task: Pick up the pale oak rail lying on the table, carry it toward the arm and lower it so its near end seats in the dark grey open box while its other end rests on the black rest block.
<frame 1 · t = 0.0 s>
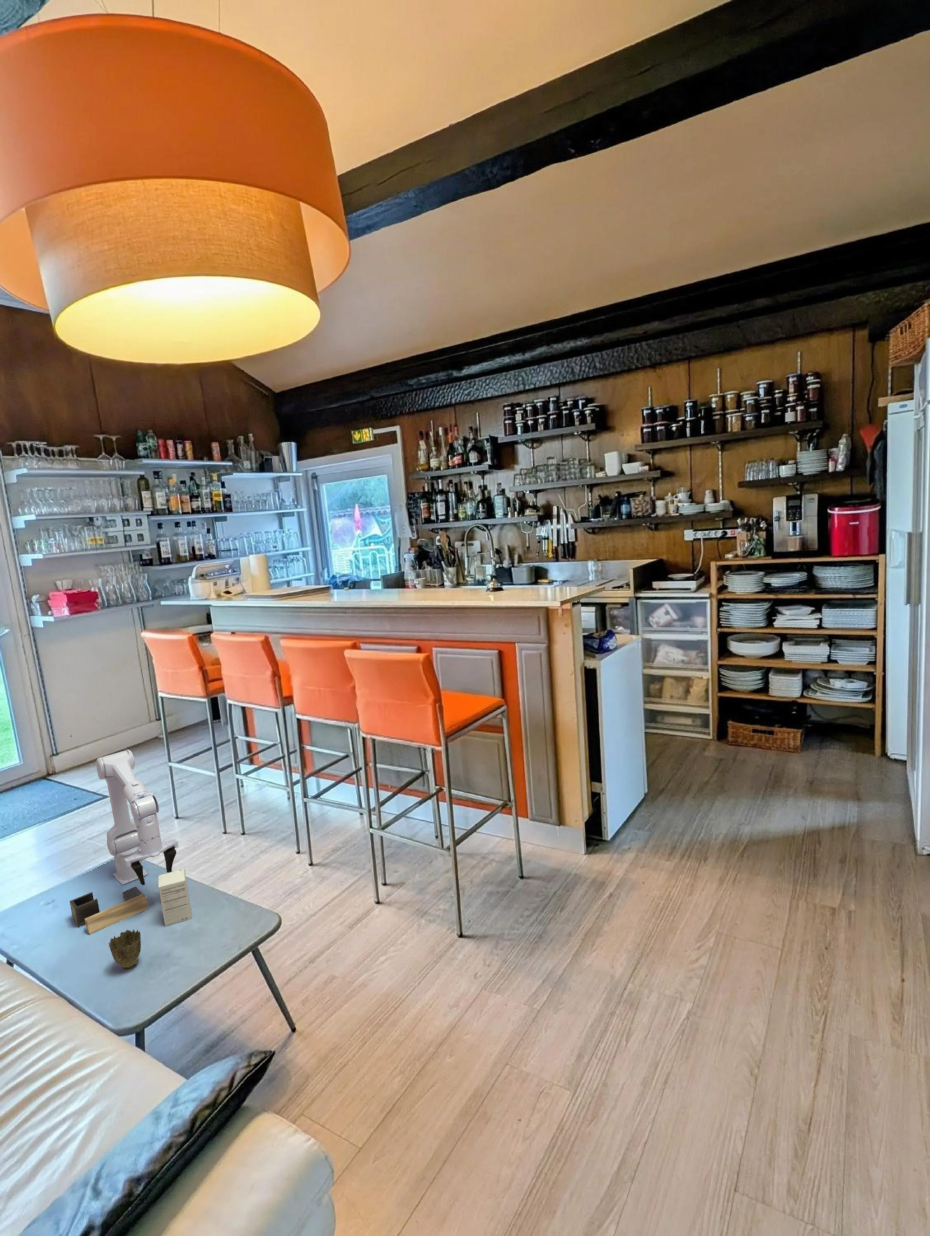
hand: (156, 878, 193), 10 cm above the table, fingers open, 7 cm apart
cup: (129, 966, 170), on the table
rail: (118, 920, 191), on the table
supplement box: (178, 917, 190), on the table
rest block: (133, 898, 201), on the table
dark grey open box: (86, 918, 192), on the table
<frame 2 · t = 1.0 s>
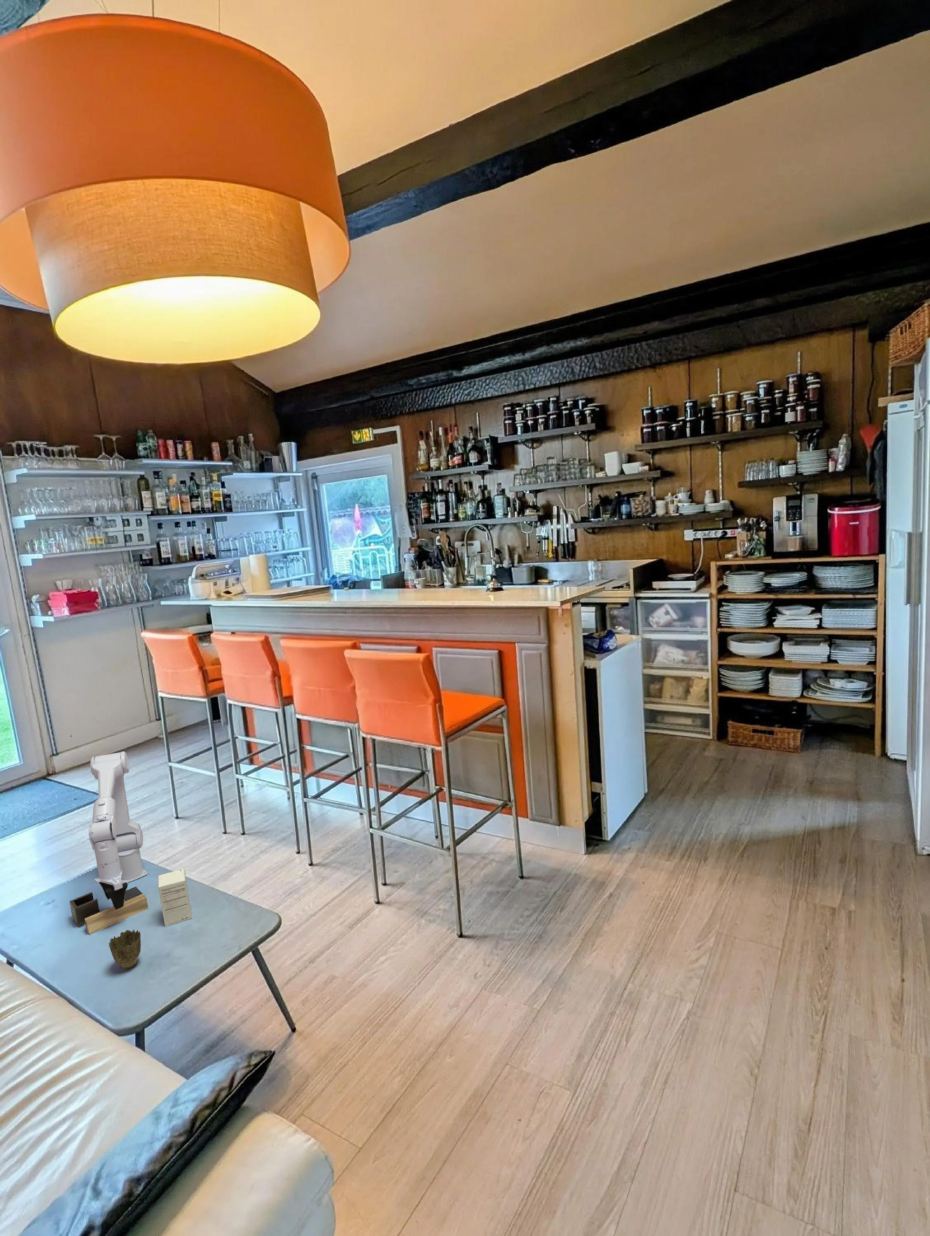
hand: (115, 902, 190), 5 cm above the table, fingers open, 7 cm apart
nothing on the table moved.
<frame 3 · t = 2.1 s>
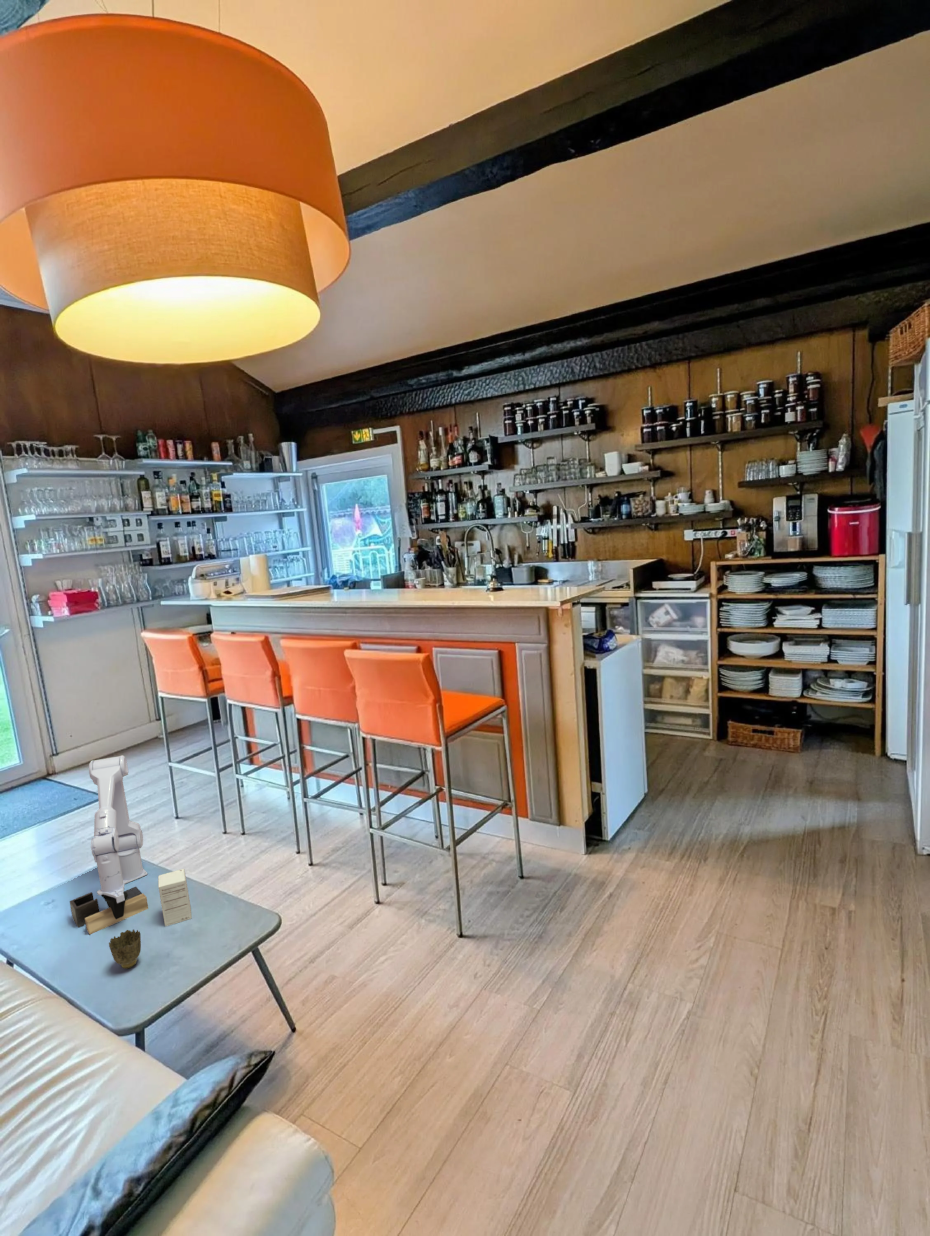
hand: (117, 914, 191), 1 cm above the table, fingers closed on rail, 3 cm apart
rail: (118, 919, 191), on the table, touching gripper
everything else where it was.
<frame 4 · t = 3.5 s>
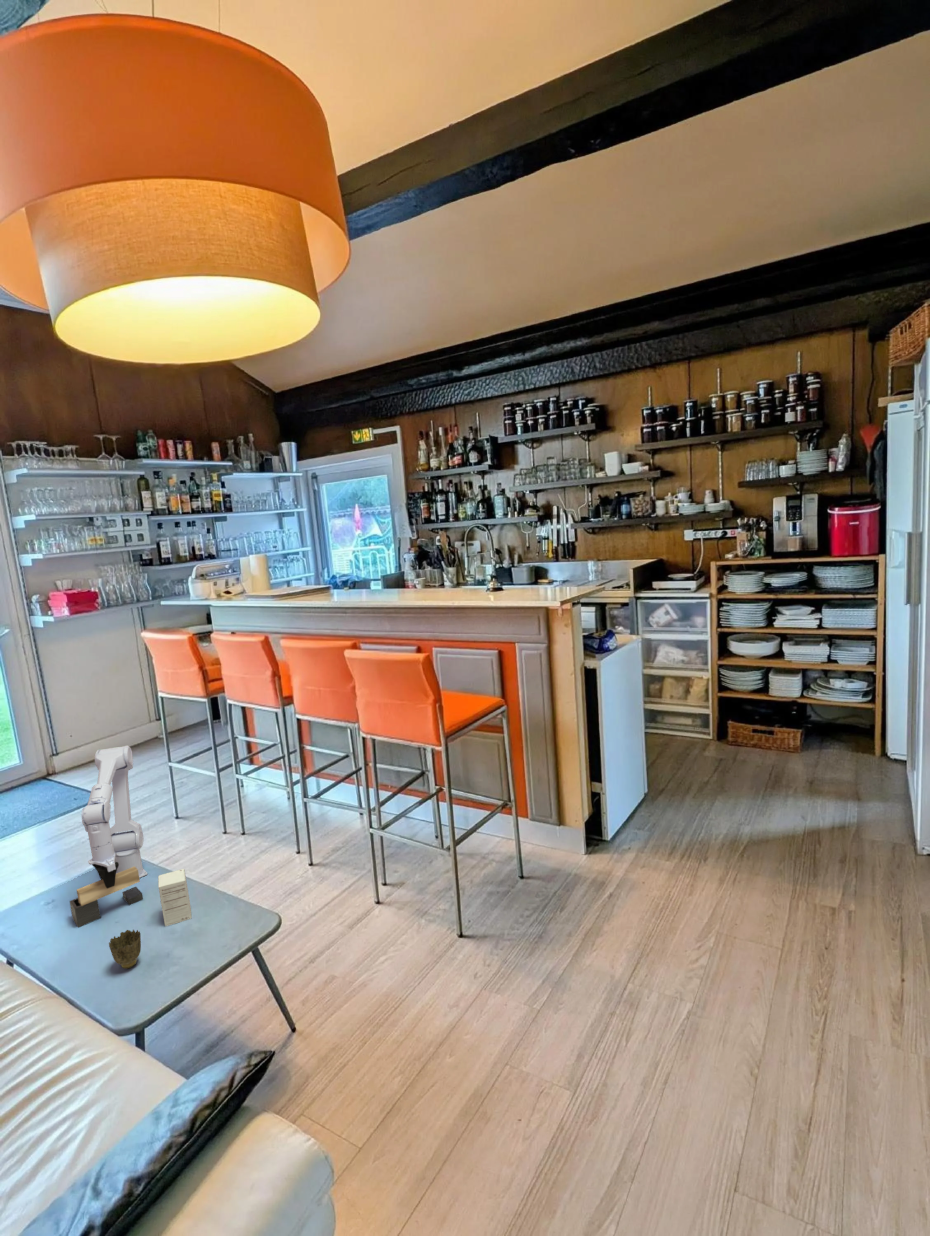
hand: (108, 884, 193), 9 cm above the table, fingers closed on rail, 3 cm apart
rail: (110, 891, 193), point 7 cm above the table, touching gripper
everything else where it was.
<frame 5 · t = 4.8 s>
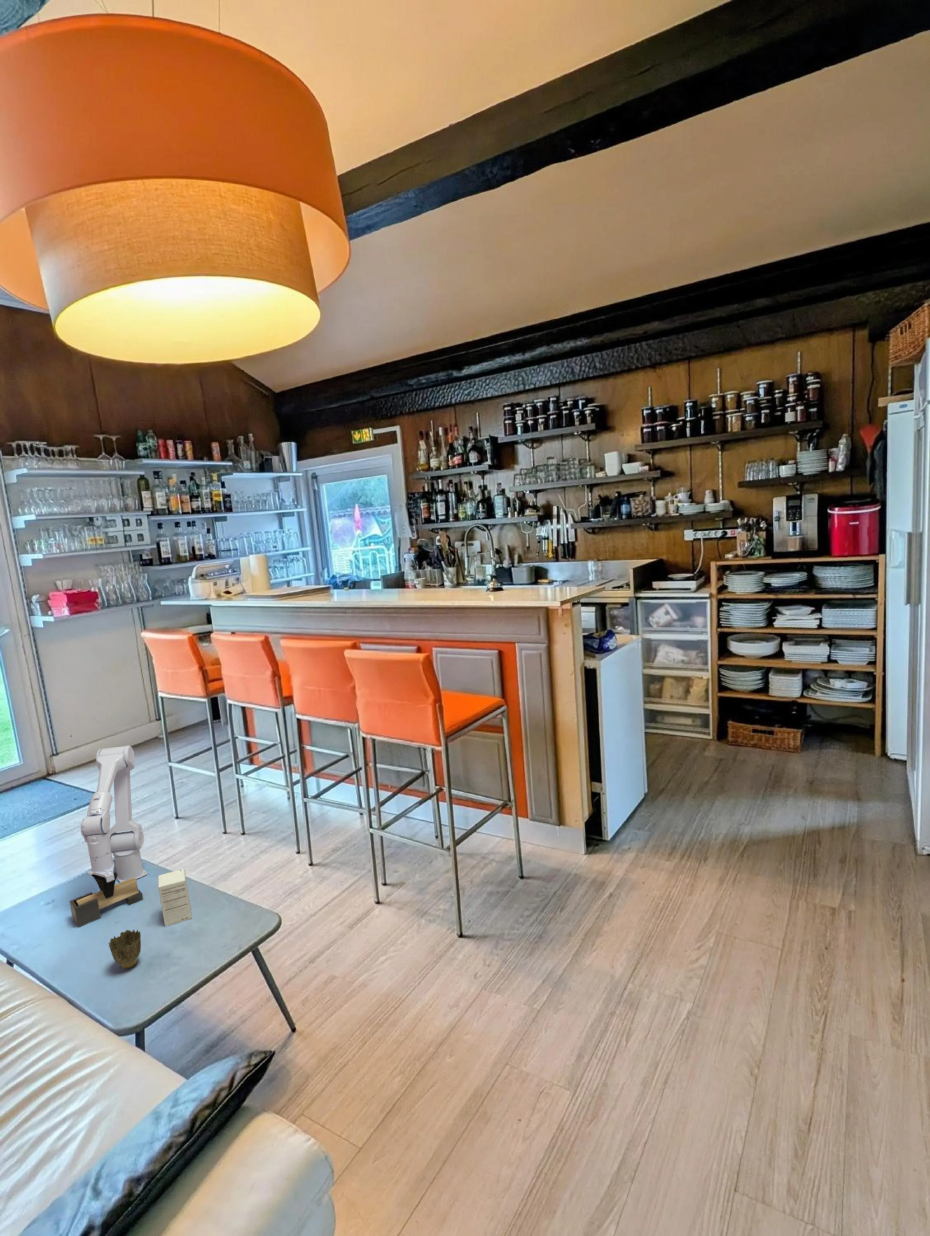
hand: (107, 894, 196), 5 cm above the table, fingers closed on rail, 3 cm apart
rail: (109, 902, 196), point 2 cm above the table, touching dark grey open box, gripper, rest block
everything else where it was.
when the fingers open (4 cm above the table, at t = 5.2 s): rail stays where it is, resting on dark grey open box, rest block.
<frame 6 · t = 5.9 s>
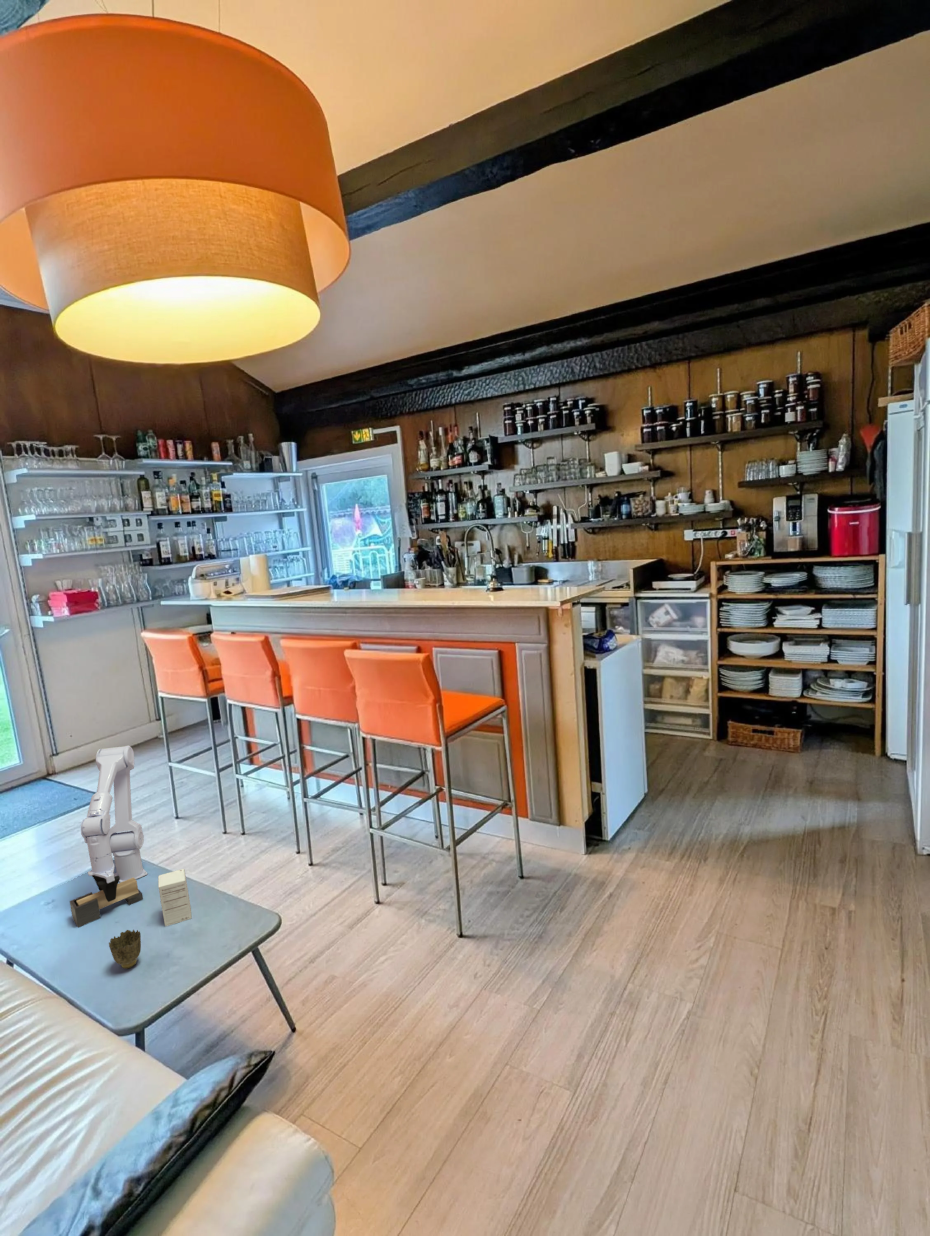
hand: (107, 895, 196), 4 cm above the table, fingers open, 7 cm apart
rail: (109, 902, 196), point 2 cm above the table, touching dark grey open box, rest block
everything else where it was.
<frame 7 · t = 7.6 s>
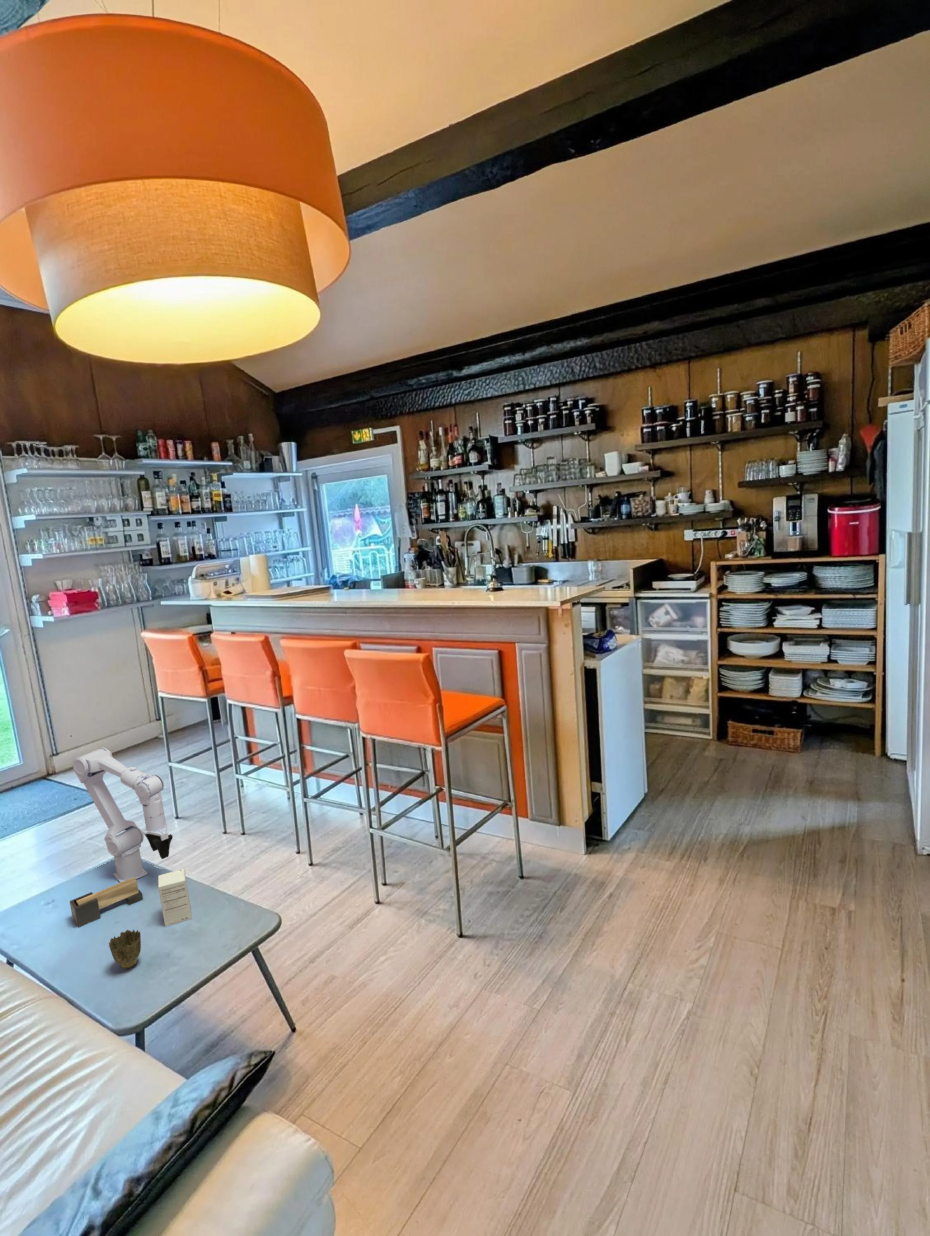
hand: (160, 853, 207), 10 cm above the table, fingers open, 7 cm apart
nothing on the table moved.
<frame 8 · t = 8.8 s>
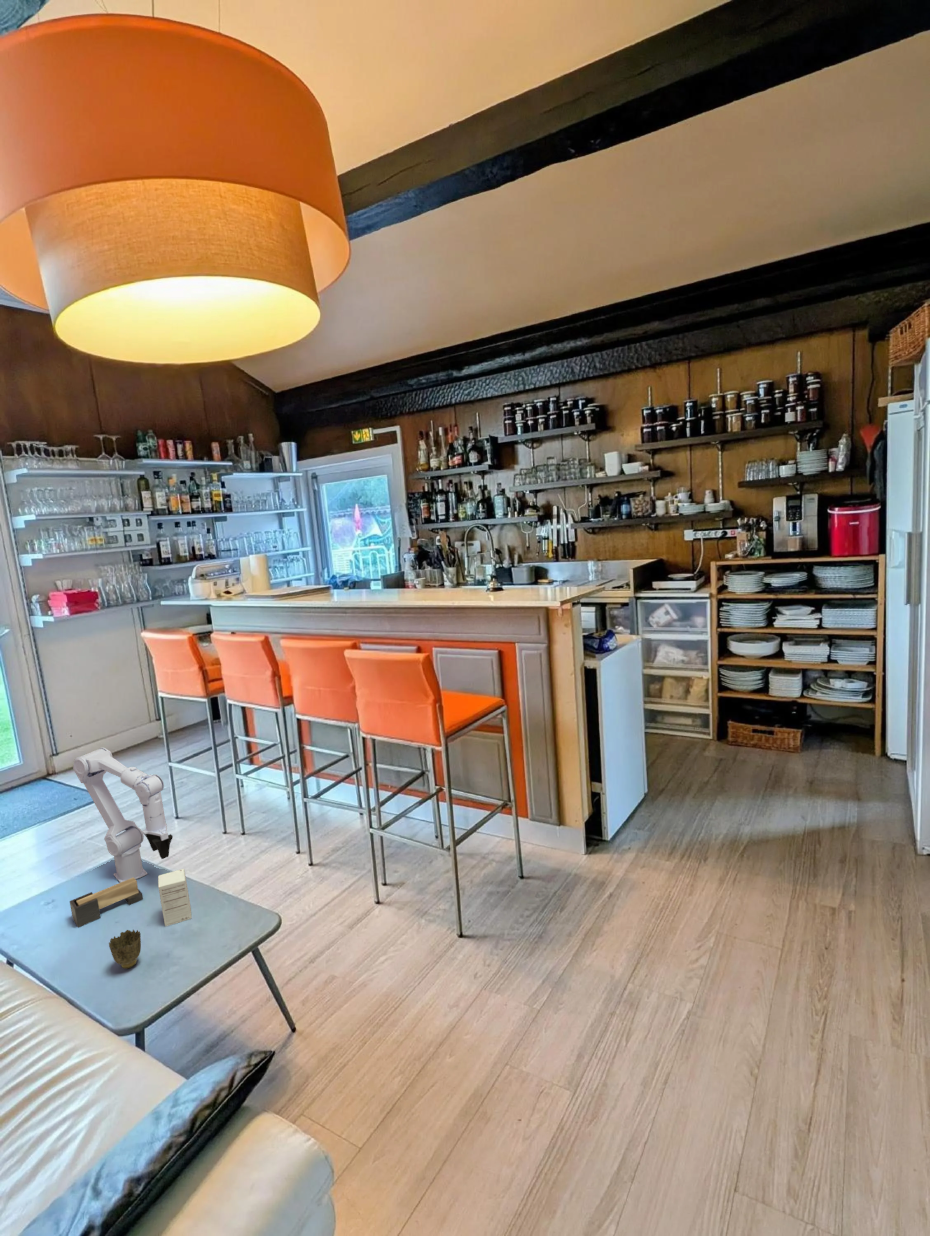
hand: (160, 853, 207), 10 cm above the table, fingers open, 7 cm apart
nothing on the table moved.
at the end: rail 0.1 cm from the target spot, point 2.0 cm above the table; rail touching dark grey open box, rest block; rail tilted 0° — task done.
